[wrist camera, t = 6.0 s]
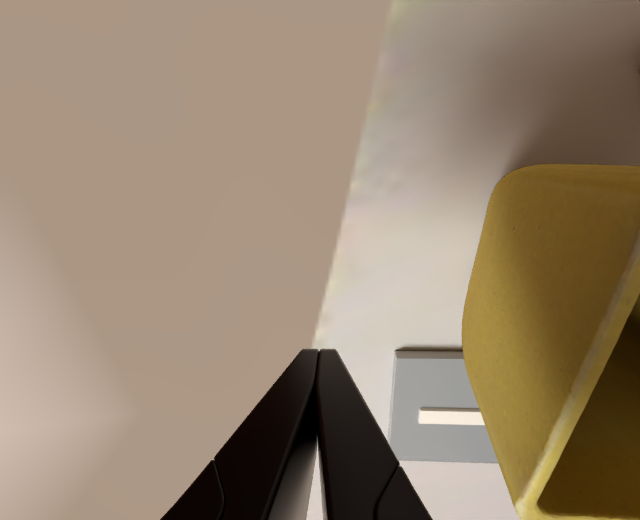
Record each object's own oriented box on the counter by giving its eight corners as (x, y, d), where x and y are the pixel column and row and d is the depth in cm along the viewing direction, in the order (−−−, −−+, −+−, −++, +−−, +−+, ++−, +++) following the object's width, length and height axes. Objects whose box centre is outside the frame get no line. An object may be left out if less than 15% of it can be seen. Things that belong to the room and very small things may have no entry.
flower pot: (684, 146, 12) (1380, 191, 4) (599, 330, 16) (882, 554, 8) (457, 139, 13) (678, 168, 4) (423, 320, 16) (511, 525, 8)
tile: (516, 454, 20) (523, 467, 19) (387, 450, 20) (389, 463, 19) (549, 352, 16) (559, 362, 16) (394, 350, 17) (397, 361, 16)
